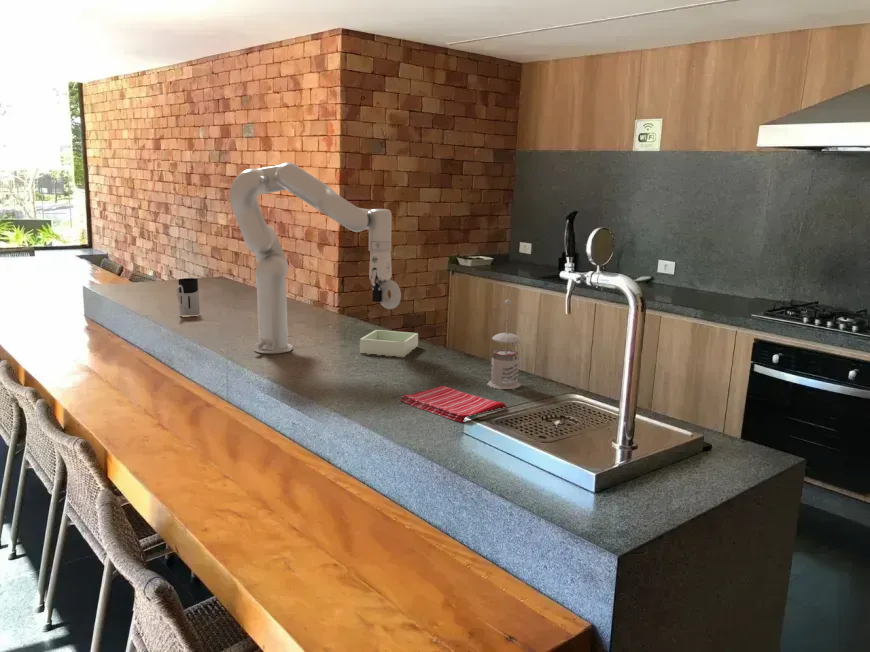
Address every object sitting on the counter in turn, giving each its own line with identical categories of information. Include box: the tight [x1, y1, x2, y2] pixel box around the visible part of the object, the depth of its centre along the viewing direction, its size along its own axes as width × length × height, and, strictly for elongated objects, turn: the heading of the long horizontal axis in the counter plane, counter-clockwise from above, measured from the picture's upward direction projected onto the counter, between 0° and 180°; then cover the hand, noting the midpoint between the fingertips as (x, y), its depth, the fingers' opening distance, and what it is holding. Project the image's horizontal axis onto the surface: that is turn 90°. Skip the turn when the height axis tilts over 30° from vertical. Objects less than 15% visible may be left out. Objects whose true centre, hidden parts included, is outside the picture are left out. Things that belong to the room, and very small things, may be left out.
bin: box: [359, 329, 419, 358], centre depth 242 cm, size 16×16×5 cm
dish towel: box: [399, 385, 507, 424], centre depth 185 cm, size 17×24×3 cm
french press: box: [487, 299, 524, 390], centre depth 203 cm, size 10×12×25 cm
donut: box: [379, 279, 402, 310], centre depth 237 cm, size 10×4×10 cm, turn 47°
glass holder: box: [176, 277, 201, 315], centre depth 290 cm, size 9×14×15 cm, turn 174°
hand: (379, 300), depth 240 cm, fingers closed on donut, 3 cm apart
